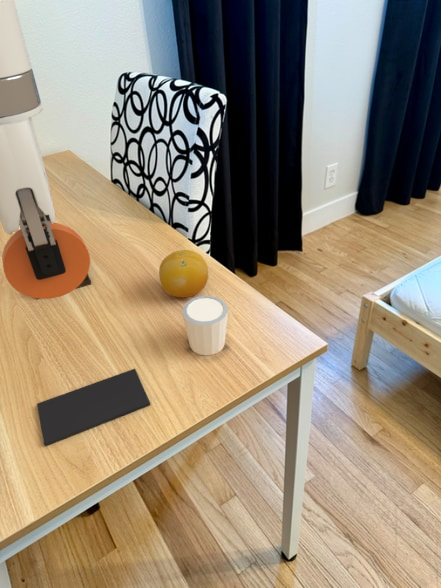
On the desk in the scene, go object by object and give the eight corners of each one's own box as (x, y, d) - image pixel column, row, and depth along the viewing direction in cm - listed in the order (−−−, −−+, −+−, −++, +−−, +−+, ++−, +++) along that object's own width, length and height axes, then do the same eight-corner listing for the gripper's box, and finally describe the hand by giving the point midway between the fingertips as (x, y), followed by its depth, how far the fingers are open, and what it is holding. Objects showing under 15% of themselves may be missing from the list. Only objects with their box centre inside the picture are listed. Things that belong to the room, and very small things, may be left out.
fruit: (167, 310, 75) (162, 272, 70) (157, 284, 81) (151, 248, 76) (215, 298, 77) (213, 261, 72) (201, 274, 83) (199, 238, 78)
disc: (18, 308, 49) (-10, 240, 43) (17, 300, 50) (-11, 233, 44) (97, 286, 52) (80, 219, 46) (94, 279, 53) (77, 213, 47)
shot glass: (177, 349, 67) (173, 315, 63) (199, 323, 72) (196, 290, 68) (216, 364, 65) (214, 330, 60) (236, 335, 69) (235, 302, 65)
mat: (45, 446, 54) (44, 443, 54) (37, 406, 59) (36, 403, 59) (150, 405, 59) (150, 402, 59) (135, 371, 64) (134, 368, 64)
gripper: (-54, 84, 42) (8, 246, 53) (-57, 127, 30) (23, 321, 42) (27, 75, 44) (69, 231, 56) (52, 111, 33) (99, 298, 44)
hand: (49, 269), depth 49 cm, fingers closed on disc, 1 cm apart
